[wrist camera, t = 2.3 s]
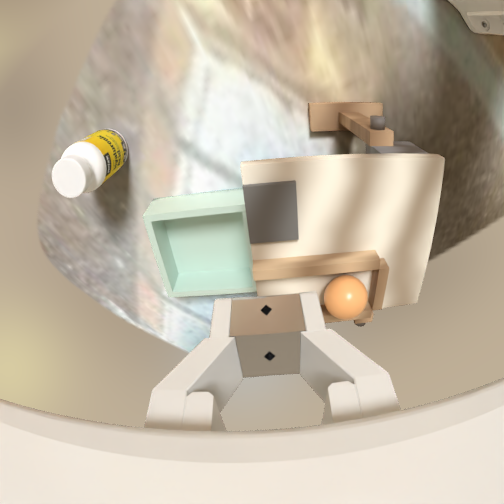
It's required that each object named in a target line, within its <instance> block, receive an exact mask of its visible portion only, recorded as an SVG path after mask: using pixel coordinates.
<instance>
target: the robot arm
mask: <svg viewBox="0 0 504 504" xmlns="http://www.w3.org/2000/svg"><path fill="white" fill-rule="evenodd" d="M448 1H449V2H450V3H451V4H452V5H453V6H455V7H456V9H457V10H458V11H459V12H460V13H461V15H462V17H463V19H464V21H465V22H466V24H467V25H468V27H469V28H470V30H471V31H473V32H474V33H479V34H492V35H503V36H504V0H448ZM482 23H483V26H482ZM299 373H300V375H301V376H302V377H303V379H304V380H305V381H306V382H307V383H308V384H309V385H310V387H311V388H312V389H313V390H314V391H315V392H316V393H317V395H318V396H319V397H320V398H321V399H322V400H323V401H324V403H325V408H324V413H323V419H322V424H321V425H315V426H307V427H298V428H288V429H287V428H286V429H274V430H255V431H227V430H226V428H225V425H224V423H223V420H222V417H221V415H220V412H221V411H222V409H223V408H224V406H225V405H226V404H227V402H228V401H229V399H230V398H231V396H232V395H233V393H234V392H235V390H236V389H237V387H238V386H239V385H240V383H241V382H242V380H243V378H244V377H256V376H268V375H282V374H283V375H284V374H299ZM0 504H504V378H502V379H499V380H497V381H494V382H491V383H489V384H486V385H484V386H481V387H478V388H476V389H472V390H470V391H467V392H464V393H461V394H458V395H455V396H451V397H448V398H445V399H442V400H438V401H435V402H432V403H428V404H424V405H421V406H417V407H413V408H408V409H404V410H401V409H400V406H399V403H398V400H397V397H396V394H395V391H394V387H393V385H392V382H391V379H390V376H389V373H388V372H387V371H385V370H384V369H383V368H381V367H380V366H379V365H377V364H376V363H375V362H374V361H372V360H371V359H370V358H368V357H367V356H366V355H364V354H363V353H362V352H361V351H359V350H358V349H357V348H356V347H354V346H353V345H352V344H350V343H349V342H348V341H347V340H345V339H344V338H343V337H341V336H340V335H339V334H337V333H336V332H335V331H334V330H332V329H326V326H325V322H324V318H323V314H322V310H321V306H320V302H319V298H318V294H317V292H316V291H309V292H300V293H294V294H284V295H272V296H257V297H237V298H222V299H216V300H215V301H214V306H213V314H212V321H211V328H210V336H209V338H204V339H203V340H202V341H201V342H200V343H199V344H198V345H197V346H196V347H195V348H194V349H193V350H192V351H191V352H190V353H189V354H188V355H187V356H186V357H185V358H184V359H183V360H182V361H181V362H180V363H179V364H178V365H177V366H176V367H175V368H174V369H173V370H172V371H171V372H170V373H169V374H168V375H167V376H166V377H165V378H164V379H163V380H162V381H161V382H160V383H159V384H158V385H157V386H156V387H155V388H154V389H153V391H152V395H151V400H150V404H149V408H148V413H147V417H146V422H145V426H144V428H141V427H132V426H123V425H116V424H108V423H102V422H95V421H89V420H84V419H78V418H73V417H68V416H63V415H59V414H54V413H50V412H45V411H41V410H37V409H34V408H30V407H26V406H22V405H18V404H15V403H12V402H9V401H5V400H2V399H0Z"/></svg>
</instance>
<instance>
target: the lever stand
mask: <svg viewBox="0 0 504 504" xmlns="http://www.w3.org/2000/svg"><path fill="white" fill-rule="evenodd" d="M308 104H309V118H310V130H311V131H312V132H315V131H343V130H350V131H351V132H352V133H354V134H355V135H356V136H358V137H359V138H360V139H361V140H363V141H364V142H365V143H366V144H368V145H369V146H393V140H394V132H393V131H392V130H390V129H388V128H386V127H385V117H384V116H383V104H381V103H371V102H327V103H308ZM372 319H373V311H372V314H371V318H365V319H357V320H354V323H355V324H356V325H357V326H364V325H365V323H366V322H372Z"/></svg>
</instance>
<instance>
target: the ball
mask: <svg viewBox="0 0 504 504" xmlns="http://www.w3.org/2000/svg"><path fill="white" fill-rule="evenodd" d="M367 300H368V294H367V290H366V287H365V285H364V284H363V283H362V282H361V281H360V280H359V279H358V278H356V277H354V276H350V275H342V276H339V277H336V278H335V279H333V280H332V281H331V282H330V283H329V284H328V285H327V287H326V289H325V293H324V303H325V306H326V308H327V310H328V311H329V313H330V314H331V315H333V316H334V317H336V318H338V319H343V320H348V319H352V318H355V317H357V316H358V315H359V314H361V313H362V311H363V310H364V309H365V307H366V304H367Z"/></svg>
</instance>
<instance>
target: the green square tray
mask: <svg viewBox="0 0 504 504" xmlns="http://www.w3.org/2000/svg"><path fill="white" fill-rule="evenodd" d="M143 219H144V223H145V226H146V230H147V233H148V236H149V239H150V243H151V246H152V249H153V252H154V255H155V259H156V262H157V265H158V268H159V271H160V274H161V277H162V280H163V283H164V286H165V289H166V291H167V294H168V297H186V296H203V295H219V294H234V293H248V292H257V289H256V281H254V278H253V258H252V251H251V244H250V239H249V232H248V224H247V217H246V209H245V202H244V194H243V188H240V189H230V190H221V191H212V192H203V193H195V194H187V195H179V196H172V197H165V198H157V199H154V200H153V201H152V203H151V204H150V206H149V207H148V209H147V210H146V212H145V213H144V215H143Z"/></svg>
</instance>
